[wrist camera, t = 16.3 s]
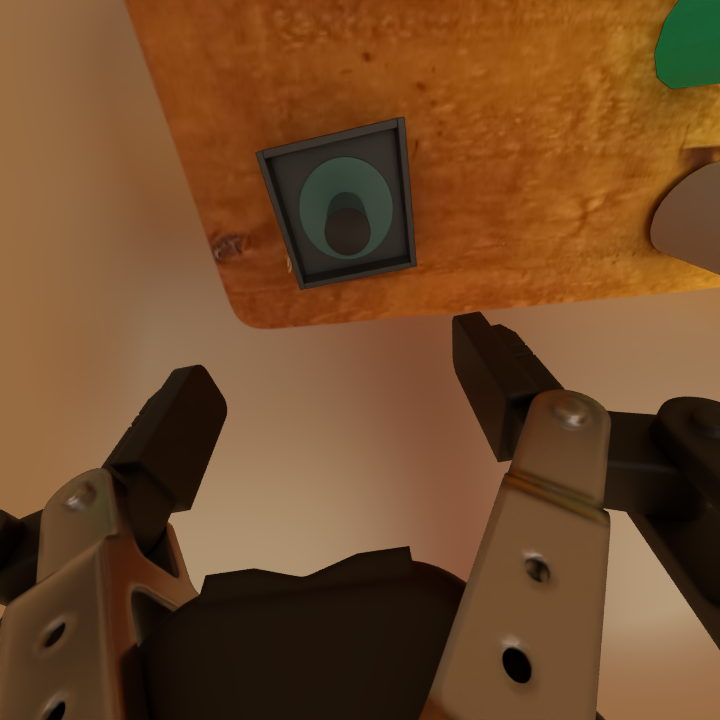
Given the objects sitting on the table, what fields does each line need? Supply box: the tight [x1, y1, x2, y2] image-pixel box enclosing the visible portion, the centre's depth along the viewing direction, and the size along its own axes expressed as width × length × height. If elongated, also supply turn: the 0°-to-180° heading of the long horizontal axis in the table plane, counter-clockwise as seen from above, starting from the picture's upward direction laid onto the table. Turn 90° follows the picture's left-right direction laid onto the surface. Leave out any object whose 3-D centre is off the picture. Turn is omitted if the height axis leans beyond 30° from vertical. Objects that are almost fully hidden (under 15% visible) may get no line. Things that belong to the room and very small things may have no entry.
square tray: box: [256, 117, 417, 290], centre depth 25 cm, size 10×10×2 cm
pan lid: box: [299, 156, 393, 259], centre depth 23 cm, size 8×8×7 cm
